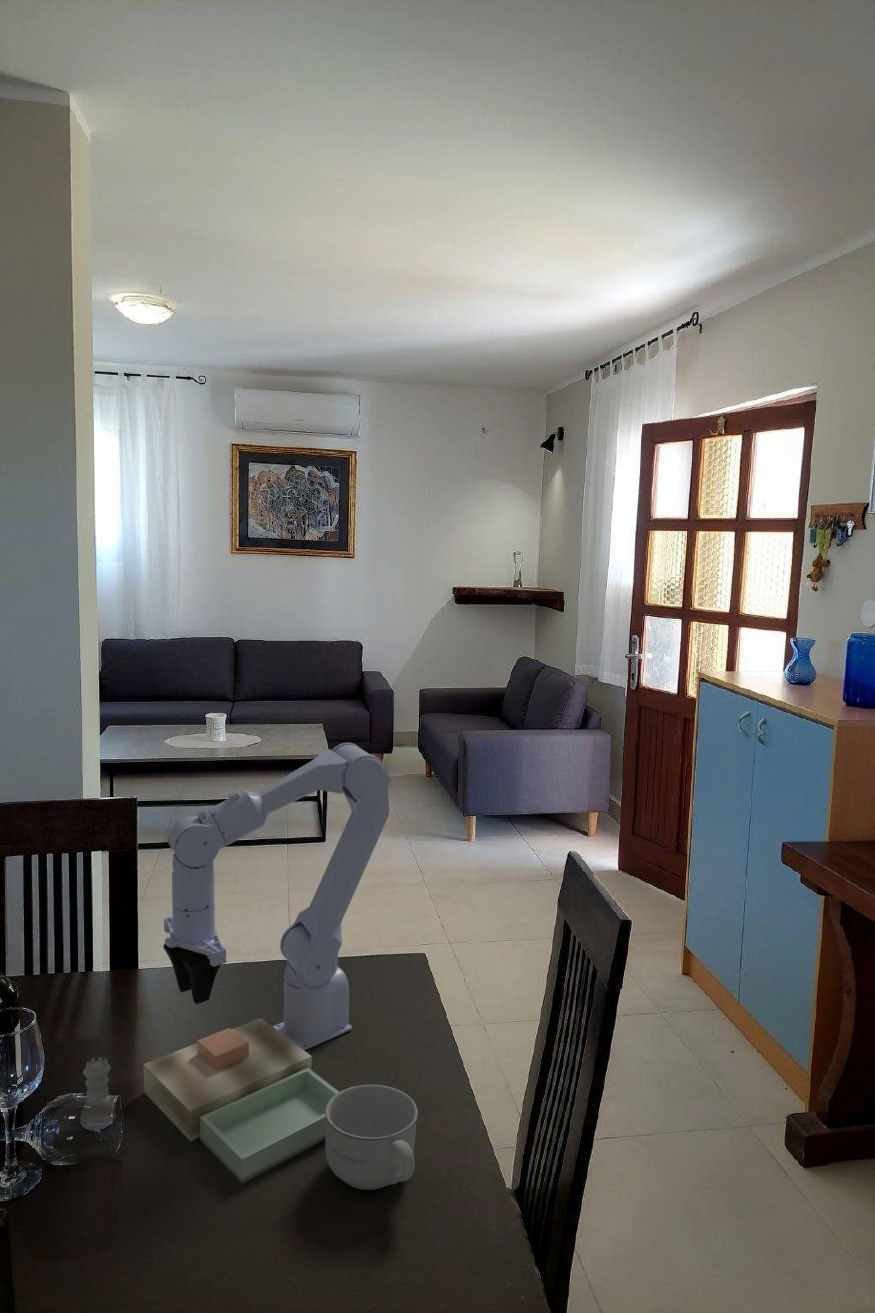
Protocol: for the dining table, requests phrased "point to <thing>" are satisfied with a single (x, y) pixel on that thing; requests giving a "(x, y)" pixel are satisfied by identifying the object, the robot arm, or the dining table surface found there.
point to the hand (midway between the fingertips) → (194, 995)
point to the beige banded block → (220, 1076)
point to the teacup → (371, 1136)
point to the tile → (222, 1048)
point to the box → (268, 1124)
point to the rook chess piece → (97, 1079)
